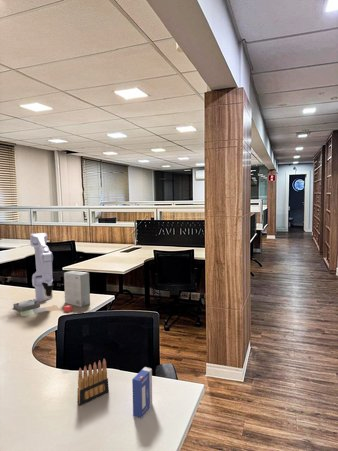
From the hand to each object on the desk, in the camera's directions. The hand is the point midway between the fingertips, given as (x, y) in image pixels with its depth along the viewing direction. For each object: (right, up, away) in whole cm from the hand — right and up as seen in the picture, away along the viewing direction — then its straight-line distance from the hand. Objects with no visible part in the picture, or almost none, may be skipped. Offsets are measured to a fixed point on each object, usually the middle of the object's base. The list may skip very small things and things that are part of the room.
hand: (48, 294), depth 194 cm
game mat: (-4, -9, -2) cm, 10 cm away
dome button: (-15, -8, +4) cm, 17 cm away
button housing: (-15, -9, +4) cm, 18 cm away
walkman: (+64, -16, -93) cm, 114 cm away
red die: (+13, -9, -3) cm, 16 cm away
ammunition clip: (+47, -16, -86) cm, 100 cm away
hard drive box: (+14, -8, +11) cm, 20 cm away
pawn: (0, -1, 0) cm, 1 cm away
